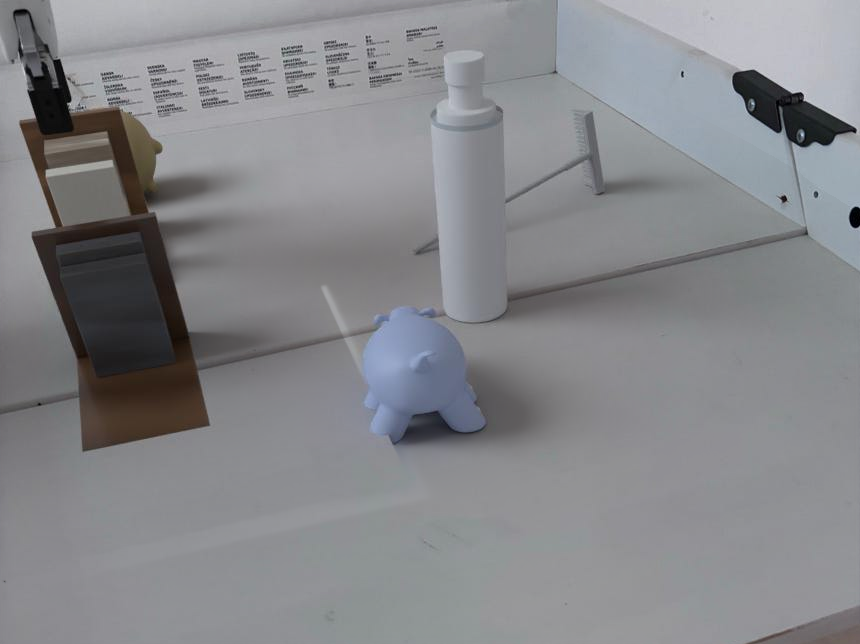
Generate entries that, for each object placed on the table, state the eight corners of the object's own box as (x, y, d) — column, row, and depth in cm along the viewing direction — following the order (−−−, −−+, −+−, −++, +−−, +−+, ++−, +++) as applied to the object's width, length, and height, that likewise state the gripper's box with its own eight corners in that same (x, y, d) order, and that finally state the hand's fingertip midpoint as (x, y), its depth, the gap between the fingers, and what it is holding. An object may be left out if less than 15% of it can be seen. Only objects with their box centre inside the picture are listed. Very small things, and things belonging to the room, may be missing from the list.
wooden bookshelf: (60, 237, 118) (19, 120, 109) (151, 222, 120) (119, 106, 111) (63, 301, 106) (16, 176, 97) (164, 284, 108) (129, 159, 99)
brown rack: (80, 363, 97) (31, 231, 87) (191, 342, 99) (155, 211, 89) (86, 462, 85) (30, 322, 75) (212, 436, 87) (173, 296, 77)
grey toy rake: (411, 283, 116) (386, 206, 110) (586, 184, 123) (573, 106, 117) (427, 291, 114) (403, 213, 107) (605, 190, 121) (593, 110, 114)
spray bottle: (464, 329, 98) (449, 51, 80) (432, 304, 102) (410, 33, 84) (519, 310, 101) (516, 35, 83) (485, 286, 105) (475, 19, 87)
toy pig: (115, 215, 131) (39, 177, 123) (149, 129, 128) (74, 83, 120) (148, 235, 126) (70, 195, 117) (184, 144, 123) (107, 98, 114)
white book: (77, 261, 111) (45, 169, 103) (139, 250, 112) (112, 159, 105) (77, 269, 109) (45, 176, 102) (140, 258, 110) (113, 166, 103)
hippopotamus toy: (461, 358, 94) (455, 263, 88) (494, 444, 84) (491, 344, 77) (351, 374, 93) (336, 279, 86) (371, 463, 83) (357, 363, 76)
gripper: (-44, -101, 92) (20, 97, 105) (-56, -69, 81) (18, 150, 93) (38, -107, 94) (92, 89, 106) (38, -77, 82) (98, 140, 94)
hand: (57, 117), depth 99 cm, fingers open, 9 cm apart
